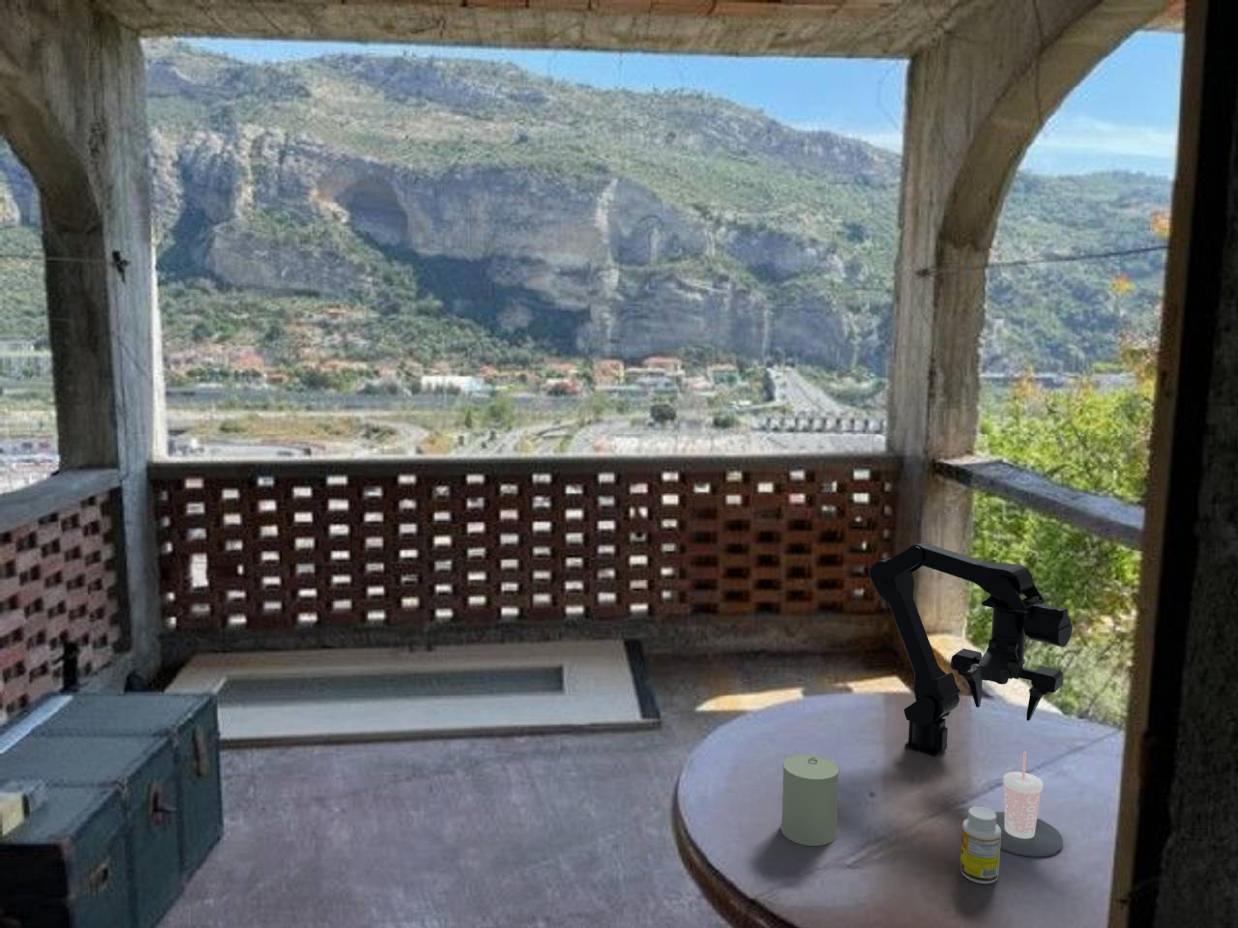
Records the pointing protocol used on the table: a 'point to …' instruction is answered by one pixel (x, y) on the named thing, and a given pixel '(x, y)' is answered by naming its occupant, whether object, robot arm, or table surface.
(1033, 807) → the beverage cup
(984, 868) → the supplement bottle
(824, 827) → the can
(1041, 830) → the coaster
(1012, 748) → the table surface
